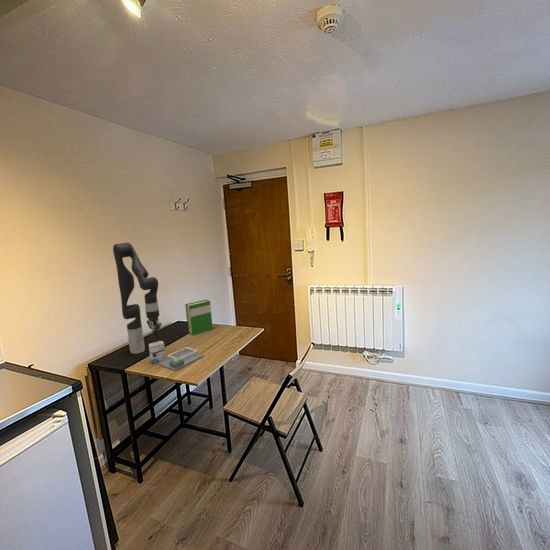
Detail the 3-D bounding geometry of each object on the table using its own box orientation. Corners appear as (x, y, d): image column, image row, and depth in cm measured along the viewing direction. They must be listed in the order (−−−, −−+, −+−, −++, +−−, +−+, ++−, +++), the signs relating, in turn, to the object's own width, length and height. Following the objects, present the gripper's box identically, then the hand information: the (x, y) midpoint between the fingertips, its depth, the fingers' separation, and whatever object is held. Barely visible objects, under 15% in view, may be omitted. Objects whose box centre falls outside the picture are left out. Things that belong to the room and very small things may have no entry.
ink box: (152, 364, 189) (150, 346, 187) (150, 361, 193) (148, 343, 191) (166, 359, 194) (164, 342, 192) (164, 357, 198) (161, 340, 196)
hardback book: (192, 335, 235) (189, 305, 231) (188, 333, 240) (185, 304, 236) (212, 329, 246) (210, 301, 242) (208, 327, 251) (205, 299, 247)
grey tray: (157, 365, 187) (157, 358, 186) (186, 351, 204) (186, 346, 204) (175, 371, 177) (174, 365, 176) (203, 356, 195) (203, 351, 194)
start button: (172, 365, 182) (172, 359, 181) (177, 362, 184) (176, 357, 184) (176, 366, 180) (175, 360, 179) (180, 364, 182) (180, 358, 182)
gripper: (140, 309, 188) (144, 336, 191) (153, 312, 181) (156, 339, 184) (151, 306, 194) (154, 332, 197) (164, 309, 187) (167, 335, 190)
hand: (155, 335), depth 191 cm, fingers closed
